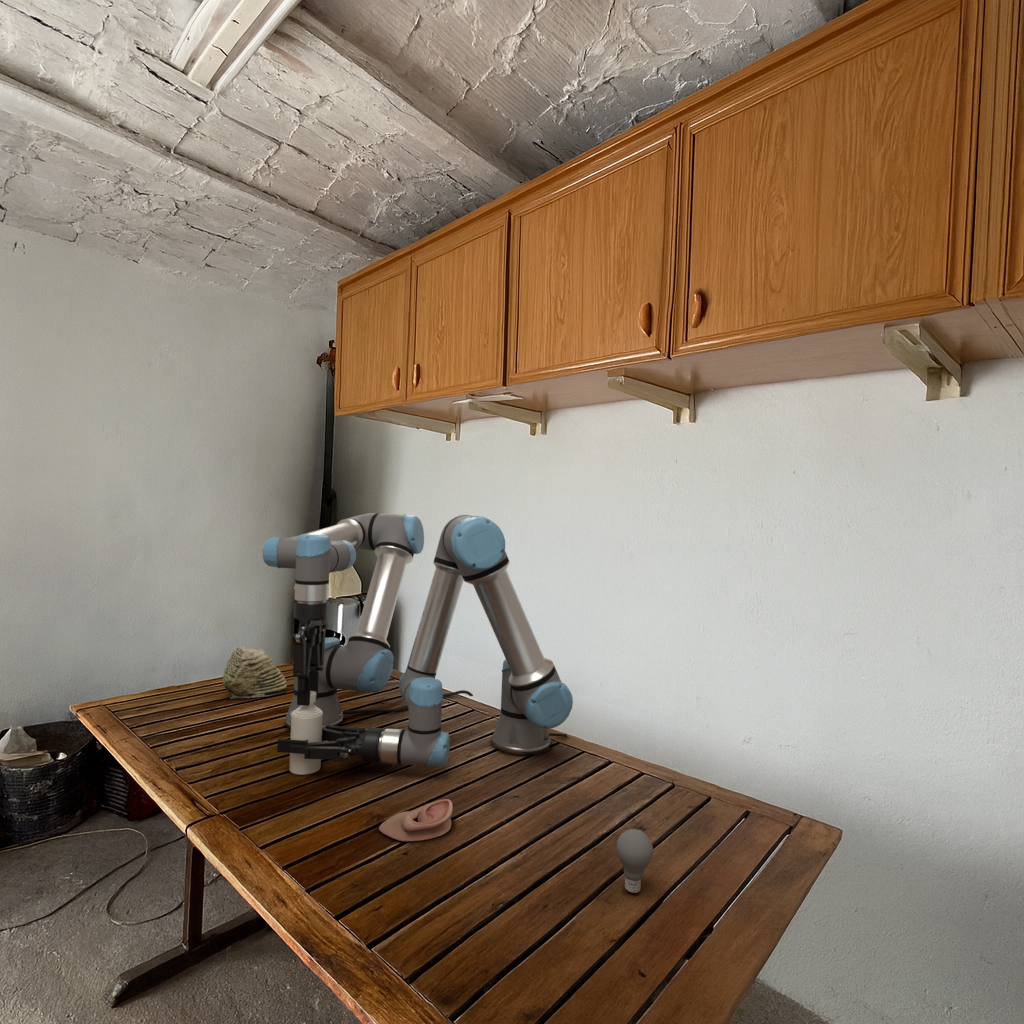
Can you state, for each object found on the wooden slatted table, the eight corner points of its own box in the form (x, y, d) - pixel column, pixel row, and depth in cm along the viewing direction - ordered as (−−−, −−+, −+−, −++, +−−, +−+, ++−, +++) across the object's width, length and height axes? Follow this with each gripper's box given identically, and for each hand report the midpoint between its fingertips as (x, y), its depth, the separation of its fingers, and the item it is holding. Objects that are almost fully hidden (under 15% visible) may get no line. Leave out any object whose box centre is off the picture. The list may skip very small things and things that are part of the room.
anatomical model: (372, 815, 119) (396, 788, 130) (371, 836, 119) (395, 808, 130) (440, 826, 116) (458, 797, 127) (439, 847, 116) (457, 817, 127)
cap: (302, 704, 144) (302, 696, 144) (297, 700, 147) (297, 692, 147) (318, 702, 147) (318, 694, 147) (312, 697, 150) (313, 689, 150)
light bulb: (610, 879, 108) (613, 822, 108) (644, 879, 109) (647, 822, 109) (619, 902, 102) (622, 840, 102) (655, 901, 103) (658, 840, 103)
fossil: (218, 695, 195) (220, 647, 195) (278, 685, 208) (279, 640, 207) (228, 703, 189) (230, 653, 188) (289, 692, 201) (290, 645, 201)
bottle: (291, 762, 150) (294, 691, 150) (321, 761, 151) (324, 690, 151) (287, 775, 143) (290, 700, 143) (319, 773, 145) (322, 699, 144)
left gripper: (311, 595, 155) (307, 690, 156) (278, 606, 139) (274, 712, 139) (340, 597, 154) (337, 692, 155) (311, 608, 138) (307, 715, 138)
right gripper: (369, 780, 136) (265, 773, 138) (392, 745, 156) (301, 739, 157) (370, 746, 136) (266, 739, 137) (393, 715, 156) (302, 709, 157)
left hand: (307, 701), depth 147 cm, fingers closed on cap, 4 cm apart
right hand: (285, 739), depth 147 cm, fingers closed on bottle, 7 cm apart
